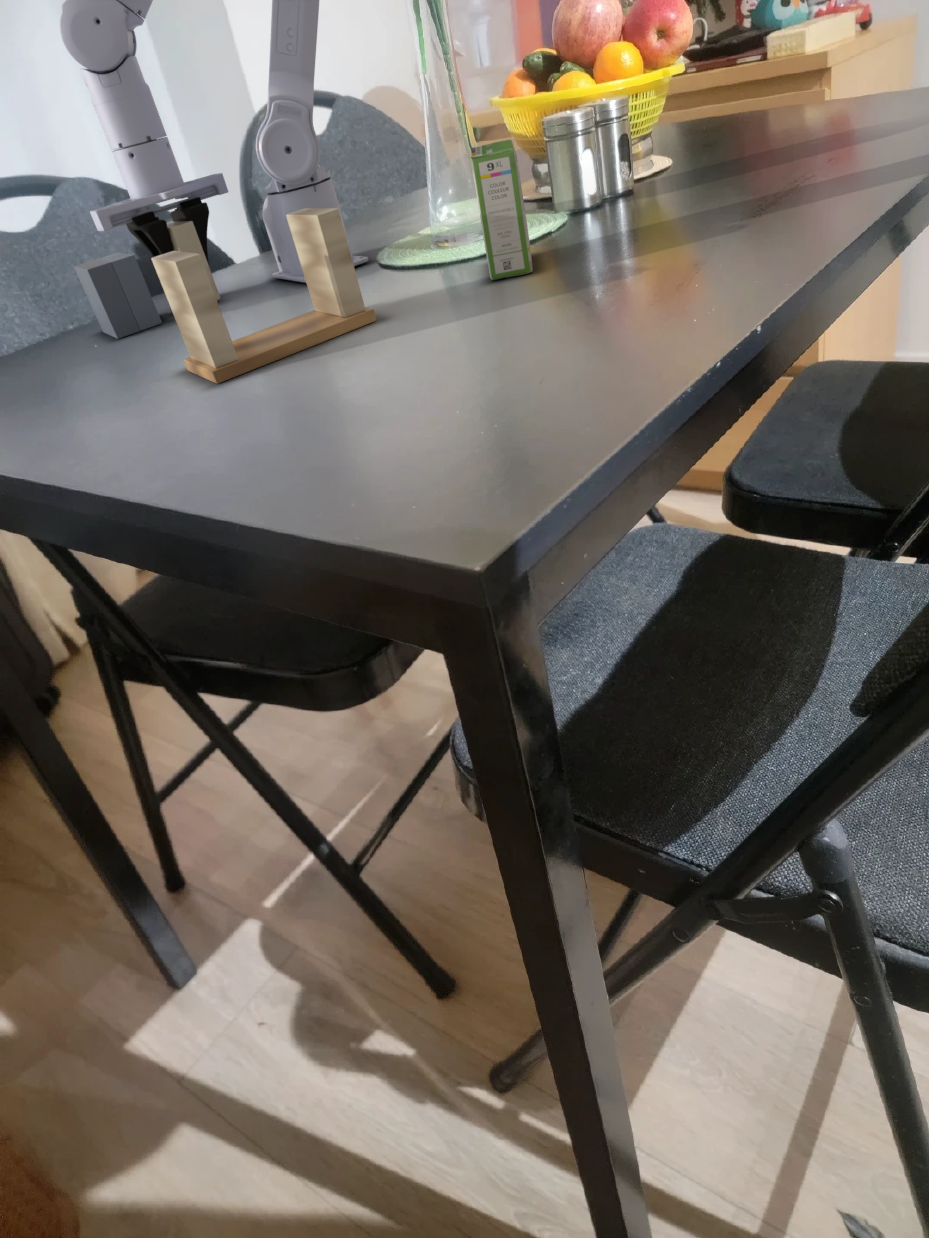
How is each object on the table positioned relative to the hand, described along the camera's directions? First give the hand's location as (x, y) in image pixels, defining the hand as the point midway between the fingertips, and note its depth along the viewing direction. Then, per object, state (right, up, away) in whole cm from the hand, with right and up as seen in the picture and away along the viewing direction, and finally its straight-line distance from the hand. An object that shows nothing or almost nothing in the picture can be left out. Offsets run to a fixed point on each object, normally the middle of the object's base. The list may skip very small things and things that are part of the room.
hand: (192, 282), depth 91 cm
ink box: (+34, -5, -15) cm, 38 cm away
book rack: (+15, -14, -21) cm, 29 cm away
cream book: (0, -2, +1) cm, 2 cm away
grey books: (-6, -6, -2) cm, 8 cm away
